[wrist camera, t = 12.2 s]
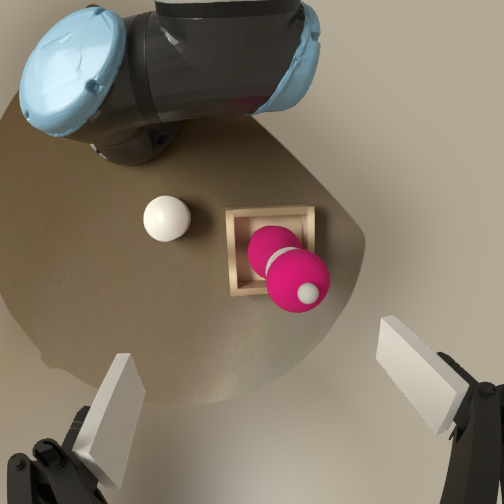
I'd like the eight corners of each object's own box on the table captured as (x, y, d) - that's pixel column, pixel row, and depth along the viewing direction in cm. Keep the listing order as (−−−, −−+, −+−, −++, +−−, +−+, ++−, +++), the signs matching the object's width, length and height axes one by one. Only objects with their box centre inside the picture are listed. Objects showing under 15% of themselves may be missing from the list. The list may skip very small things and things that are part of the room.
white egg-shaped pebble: (155, 242, 40) (148, 245, 36) (148, 202, 39) (140, 201, 35) (194, 234, 40) (190, 236, 37) (187, 194, 40) (182, 191, 36)
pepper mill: (275, 212, 41) (325, 235, 21) (302, 251, 42) (364, 301, 23) (234, 241, 41) (248, 290, 22) (263, 279, 43) (297, 350, 23)
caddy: (225, 207, 41) (225, 210, 37) (306, 204, 42) (314, 206, 38) (230, 286, 43) (230, 296, 40) (306, 280, 44) (313, 289, 41)
